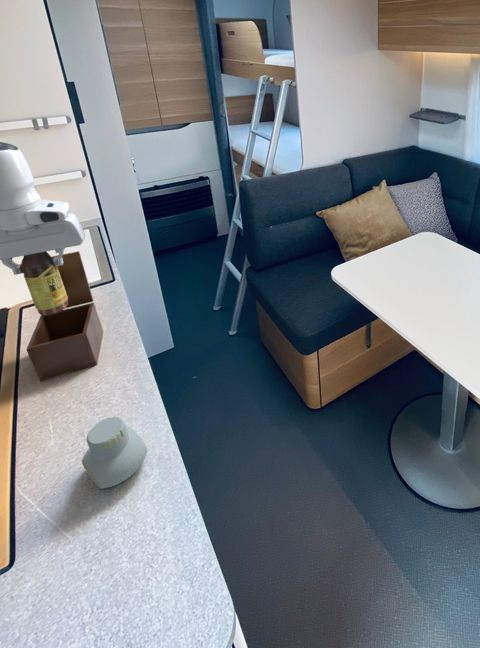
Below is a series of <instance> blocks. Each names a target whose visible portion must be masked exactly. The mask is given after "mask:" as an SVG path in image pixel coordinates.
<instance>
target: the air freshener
mask: <svg viewBox="0 0 480 648" xmlns="http://www.w3.org/2000/svg"><path fill="white" fill-rule="evenodd" d="M86 444H87V446H88V449H87V450H86V451H85V453H84V455H83V457H82V459H81V465H82V467H83V468H84V470H85V471H86V473H87V475H88V476H89V477H90V479H91V481H93V483H94V484H95V485H96V486H97V487H98V488H99V489H107V488H108V489H109V488H111V487H112V488H113V487H115V486H117V485H120V484H121V483H122V482H124V481H126V480H128V479H129V478H130V477H131V476H132V475H134V473H135V472H137V471H138V469H139V468H140V467H141V465H142V464H143V462H144V461H145V459H146V457H147V453H148V447H147V444H145V442H144V440H143V439H142V437H141V436H140V435H139V434H138V433H137V432H136V431H135V429H133V428H132V427H130V426H126V423H125V421H124V419H123V418H122V417H119V416H110V417H107V418H104V419H102V420H100V421H99V422H97V423H96V424H94V425H93V427H92V428H91V429H90V430H89V431H88V433H87V436H86Z"/></svg>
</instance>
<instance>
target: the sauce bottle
mask: <svg viewBox="0 0 480 648" xmlns="http://www.w3.org/2000/svg"><path fill="white" fill-rule="evenodd" d="M22 257H23V258H22V259H21V263H20V264H21V268H22V271H23V273H22V274H23V278H24V281H25V283H26V286H27V289H28V291H29V294H30V297H31V299H32V302H33V304H34V307H35V310H37V313H38V314H39V315H40V316H41V315H43V316H46V315H52V314H55V313H58V312H60V311H61V310H65V309H67V308H66V307H67V306H68V297H67V294H66V291H65V288H64V285H63V282H62V279H61V276H60V273H59V270H58V268H57V266H56V267H55V266H54V263H53V258H52V256H51V255H50V254H49V253H48V251H46V252H41V253H35V254H30V255H25V256H22Z"/></svg>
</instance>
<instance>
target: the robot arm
mask: <svg viewBox="0 0 480 648" xmlns="http://www.w3.org/2000/svg"><path fill="white" fill-rule="evenodd" d="M85 240H86V232H85V231H84V228H83V226H82V224H81V221H80V219H79V218H78V216H77V215H76V214H75V213H73V212H71V205H70V203H69V202H67V201H59V200H48V199H42V198H41V195H40V194H39V192H37V190H36V188H35V178H34V175H33V173H32V170H31V168H30V165H29V163H28V161H27V158H26V157H25V155H24V153H23V152H22V151H21V150H20V148H19V147H17V146H16V145H14V144H12V143H8V142H4V141H3V142H2V141H0V262H1V264H2V265H3V266H5V267H7V268H9V269H10V270H11V271H12V273H13V275H14V276H17V275H21V274H24V273H23V271H22V268H21V263H17V262H16V261H14V260H13V259H14V258H18V257H19V258H20V257H24V256H25V255H30V254H35V253H41V252H51V251H54V252H55V254H57V255H58V257H54V259H53V263H54V266H55V267H56V266H61V265H63V259H62V255H63V254H64V252H65V249H66V248H67V249H68V248H72V247H78V246H81V245H82V244H83V242H84V241H85Z"/></svg>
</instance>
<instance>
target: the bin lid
mask: <svg viewBox="0 0 480 648" xmlns="http://www.w3.org/2000/svg"><path fill="white" fill-rule="evenodd" d="M58 255H59V254H57V255H52V256H51V257H52V258H53V259H54V257H58ZM62 259H63V265H61V266H57V268H58V270H59V273H60V276H61V279H62V282H63V285H64V288H65V291H66V294H67V297H68V306H67V307H66V308H65V309H69V308H73V307H77V306H81V305H85V304H90V303H94V297H93V293H92V290H91V288H90V287H91V286H90V284H89V283H90V282H89V281H88V277H87V273H86V270H85V266H84V262H83V260H82V256H81V252H80V251H79V250H78V251H77V250H76V251H72V252H67V253H63V255H62Z"/></svg>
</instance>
